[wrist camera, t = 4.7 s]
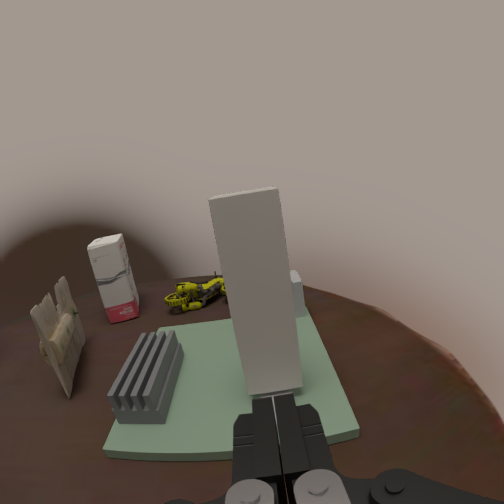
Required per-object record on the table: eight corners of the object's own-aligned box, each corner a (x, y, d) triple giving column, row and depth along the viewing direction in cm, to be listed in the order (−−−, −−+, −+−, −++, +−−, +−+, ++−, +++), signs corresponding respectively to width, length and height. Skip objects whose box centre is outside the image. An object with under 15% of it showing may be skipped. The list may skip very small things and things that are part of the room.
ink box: (139, 318, 42) (117, 239, 40) (108, 325, 41) (85, 247, 38) (140, 298, 51) (122, 231, 48) (113, 304, 49) (95, 238, 46)
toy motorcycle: (159, 292, 41) (167, 277, 47) (166, 318, 41) (172, 300, 48) (246, 277, 41) (242, 263, 48) (251, 303, 42) (246, 287, 49)
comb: (77, 341, 37) (53, 274, 34) (92, 337, 38) (68, 269, 35) (62, 403, 24) (20, 314, 21) (82, 399, 24) (41, 308, 22)
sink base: (358, 437, 17) (362, 379, 16) (108, 457, 17) (75, 406, 16) (304, 308, 38) (299, 267, 36) (164, 329, 38) (152, 290, 37)
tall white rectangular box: (302, 386, 21) (278, 188, 17) (248, 395, 21) (208, 199, 17) (288, 334, 29) (267, 183, 25) (246, 341, 29) (218, 191, 25)
